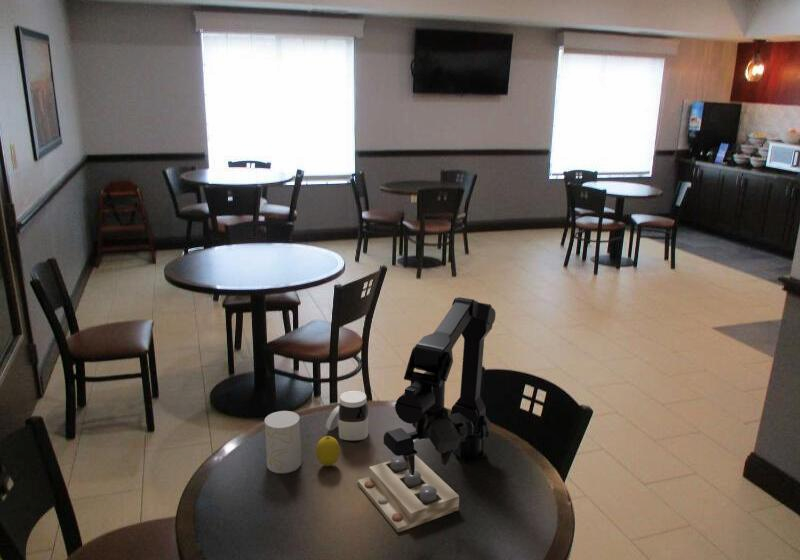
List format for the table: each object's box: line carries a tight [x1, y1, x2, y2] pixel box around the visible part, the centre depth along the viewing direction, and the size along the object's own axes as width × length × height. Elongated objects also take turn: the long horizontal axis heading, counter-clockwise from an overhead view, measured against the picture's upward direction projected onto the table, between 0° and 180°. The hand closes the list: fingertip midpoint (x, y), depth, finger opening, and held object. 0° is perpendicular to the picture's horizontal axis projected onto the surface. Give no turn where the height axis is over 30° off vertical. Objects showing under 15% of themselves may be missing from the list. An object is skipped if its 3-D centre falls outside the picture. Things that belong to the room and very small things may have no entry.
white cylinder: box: [264, 410, 302, 474], centre depth 147 cm, size 8×8×12 cm
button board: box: [357, 454, 460, 533], centre depth 137 cm, size 15×19×4 cm
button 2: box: [420, 486, 437, 505], centre depth 131 cm, size 4×4×2 cm
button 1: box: [390, 455, 406, 473], centre depth 142 cm, size 4×4×2 cm
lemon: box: [316, 435, 341, 467], centre depth 147 cm, size 6×6×8 cm
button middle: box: [404, 471, 421, 488], centre depth 137 cm, size 4×4×2 cm
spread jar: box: [325, 390, 369, 445], centre depth 161 cm, size 12×11×12 cm
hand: (428, 469), depth 129 cm, fingers open, 8 cm apart
